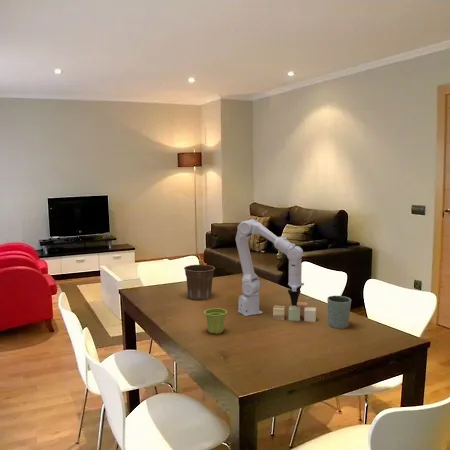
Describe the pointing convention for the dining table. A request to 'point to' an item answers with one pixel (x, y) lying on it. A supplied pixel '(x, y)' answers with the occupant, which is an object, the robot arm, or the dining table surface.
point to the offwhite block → (310, 314)
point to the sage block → (294, 313)
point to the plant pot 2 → (215, 319)
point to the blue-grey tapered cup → (338, 311)
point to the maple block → (279, 312)
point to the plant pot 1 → (199, 281)
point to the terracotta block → (302, 307)
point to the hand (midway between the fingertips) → (294, 302)
